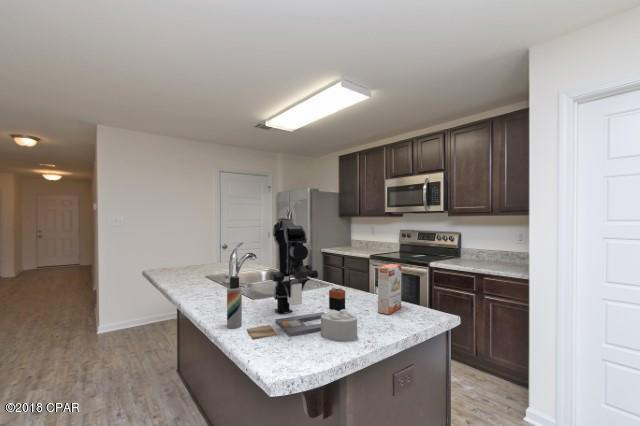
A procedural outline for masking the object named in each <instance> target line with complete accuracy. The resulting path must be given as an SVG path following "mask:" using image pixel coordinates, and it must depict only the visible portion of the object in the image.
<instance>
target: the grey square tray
mask: <svg viewBox="0 0 640 426" xmlns="http://www.w3.org/2000/svg"><path fill="white" fill-rule="evenodd" d="M325 313H326V312H324V311H321V312H315V313H307V314H302V315H295V316H288V317H281V318H276V319H275V318H274V321H275V324H276V325H277V326H278V327H279V328H280V329H281V330H282V331H283V332H284V333H285V334H286V335H287V336H288V337H289V338H290V337H291V338H292V337H297V336H301V335H303V336H304V335H308V334H314V333H318V332H321V322H320V323H315V324H314V323H313V324H309V325H306V324H305V323H304V322H310V321H311V322H312V321H317V320H318V321H319V320H321V316H322V315H324V314H325Z"/></svg>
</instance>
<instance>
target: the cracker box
mask: <svg viewBox="0 0 640 426" xmlns="http://www.w3.org/2000/svg"><path fill="white" fill-rule="evenodd" d="M377 277H378V278H377V313H379V314H383V315H387V316H390V315H391V314H393V313H395V312H396V311H398V310H401V309H402V264H395V263H390V264H386V265H381V266H378V267H377Z"/></svg>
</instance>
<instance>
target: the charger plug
mask: <svg viewBox="0 0 640 426" xmlns="http://www.w3.org/2000/svg"><path fill="white" fill-rule="evenodd" d="M290 279H291V283H290V293H291V295H290V298H289V297H288V303H289V304H290V306H299V305H302V304H303V290H302V284H301V283H299V282H298V279H295V278H290Z"/></svg>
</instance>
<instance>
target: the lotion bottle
mask: <svg viewBox="0 0 640 426" xmlns="http://www.w3.org/2000/svg"><path fill="white" fill-rule="evenodd" d="M226 289H227V290H226V325H227V328H229V329H238V328H240V327H241V326H242V324H243V321H242V320H243V318H242V317H243V311H242V310H243V309H242V308H243V301H242V300H243V295H242V294H243V290H242V289H243V288H242V287H240V277H239V276H237V275H231V276H230V277H229V287H228V288H226Z"/></svg>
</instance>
